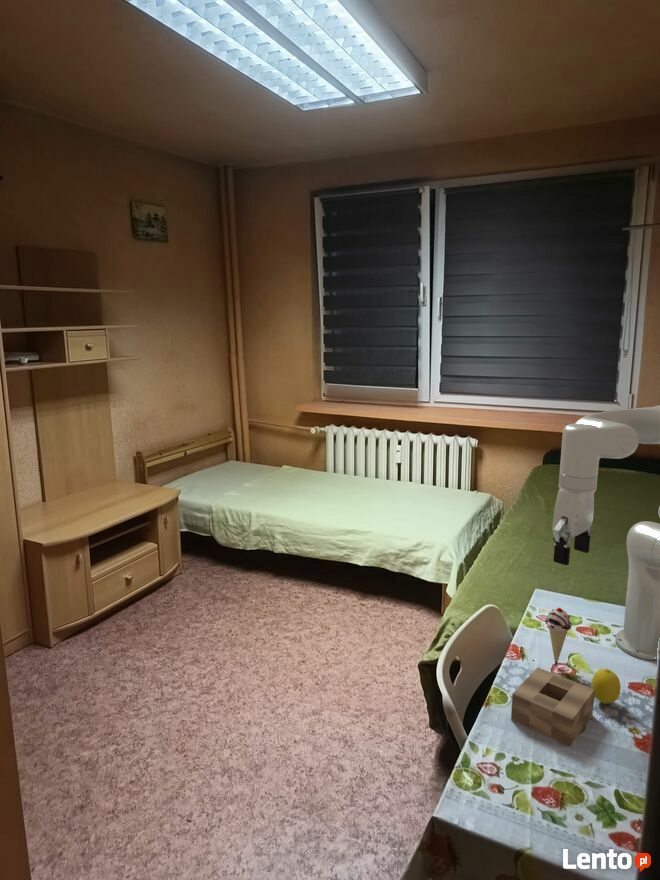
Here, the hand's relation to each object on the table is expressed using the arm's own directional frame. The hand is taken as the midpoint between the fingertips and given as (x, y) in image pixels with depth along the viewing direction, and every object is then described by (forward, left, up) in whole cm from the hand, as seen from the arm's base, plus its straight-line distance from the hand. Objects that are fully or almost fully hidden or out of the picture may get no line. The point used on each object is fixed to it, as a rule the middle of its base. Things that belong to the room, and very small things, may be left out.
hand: (571, 556), depth 132 cm
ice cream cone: (-1, -2, -29) cm, 29 cm away
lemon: (+5, +11, -29) cm, 31 cm away
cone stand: (+17, +4, -28) cm, 33 cm away
